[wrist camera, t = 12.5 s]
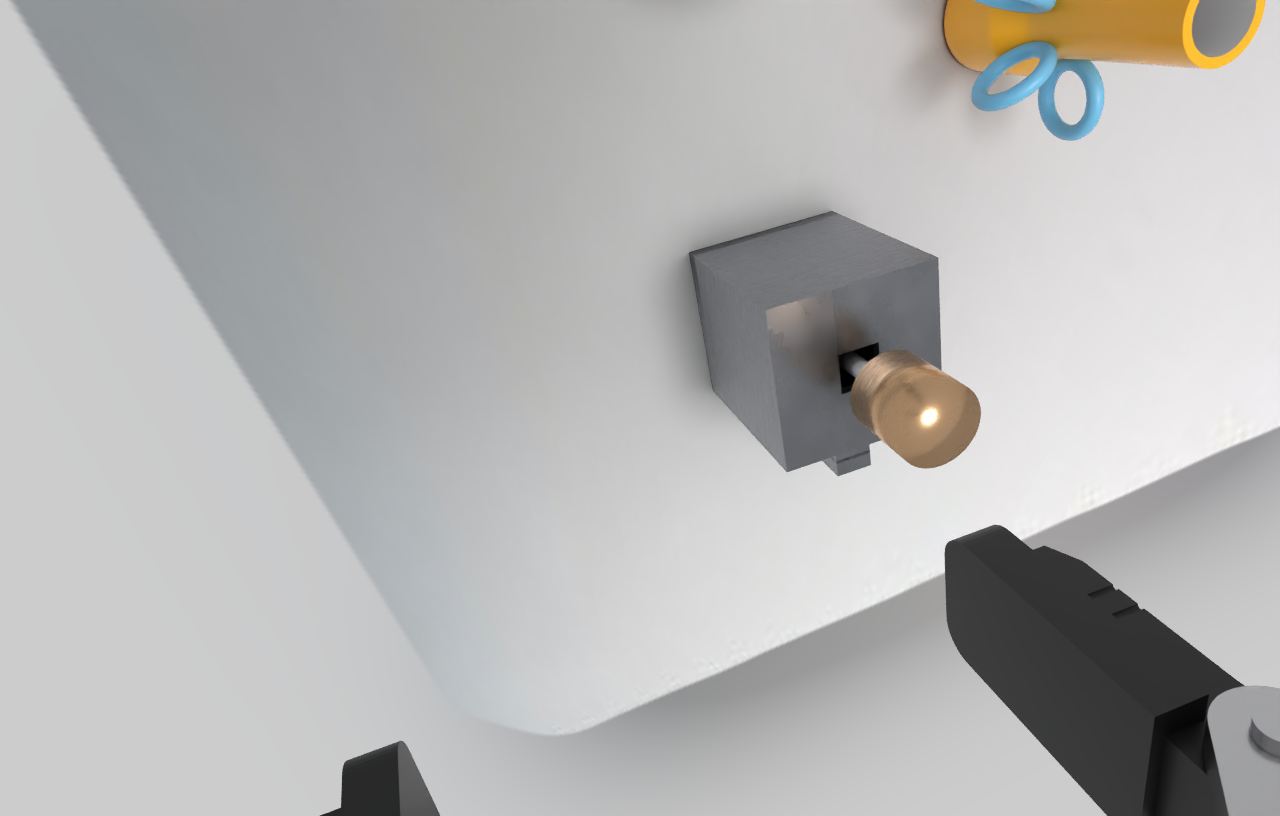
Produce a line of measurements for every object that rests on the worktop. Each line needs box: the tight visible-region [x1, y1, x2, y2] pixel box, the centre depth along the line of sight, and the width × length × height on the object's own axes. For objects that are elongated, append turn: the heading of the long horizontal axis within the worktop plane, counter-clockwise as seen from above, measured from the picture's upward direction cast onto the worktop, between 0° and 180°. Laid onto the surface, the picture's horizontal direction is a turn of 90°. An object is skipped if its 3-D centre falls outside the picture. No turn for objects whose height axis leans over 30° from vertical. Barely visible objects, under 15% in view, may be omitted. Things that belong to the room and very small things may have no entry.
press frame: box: [689, 211, 941, 476], centre depth 47 cm, size 12×9×11 cm
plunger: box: [838, 350, 981, 468], centre depth 43 cm, size 7×7×15 cm
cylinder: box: [944, 0, 1265, 141], centre depth 41 cm, size 12×10×15 cm
